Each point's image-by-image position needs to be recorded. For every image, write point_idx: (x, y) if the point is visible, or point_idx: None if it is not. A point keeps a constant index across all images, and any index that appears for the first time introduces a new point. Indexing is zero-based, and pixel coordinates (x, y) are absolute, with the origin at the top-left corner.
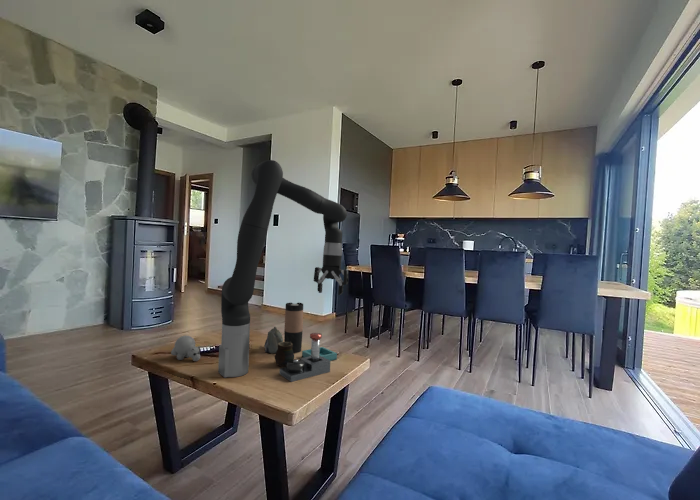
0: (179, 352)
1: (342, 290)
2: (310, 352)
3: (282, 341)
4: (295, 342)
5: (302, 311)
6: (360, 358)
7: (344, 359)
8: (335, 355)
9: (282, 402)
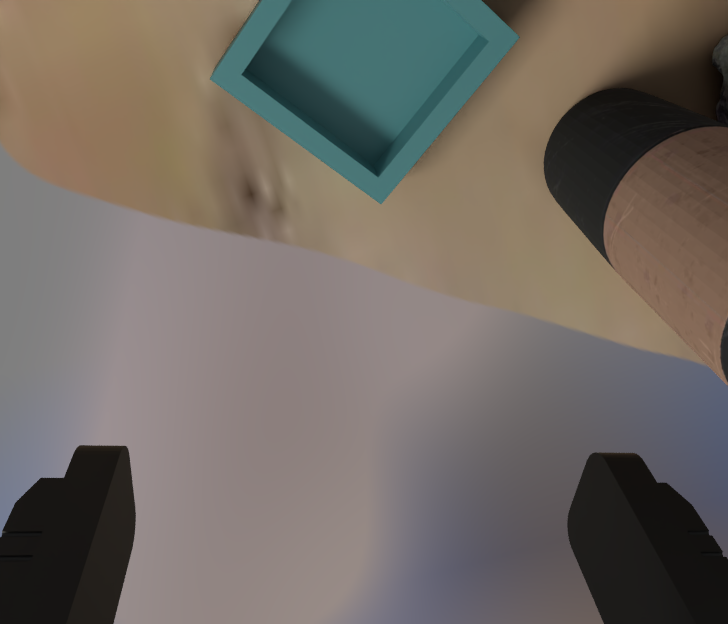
0: None
1: (2, 572)
2: (450, 79)
3: None
4: (613, 121)
5: (717, 313)
6: (42, 160)
7: (155, 91)
8: (220, 62)
9: None
